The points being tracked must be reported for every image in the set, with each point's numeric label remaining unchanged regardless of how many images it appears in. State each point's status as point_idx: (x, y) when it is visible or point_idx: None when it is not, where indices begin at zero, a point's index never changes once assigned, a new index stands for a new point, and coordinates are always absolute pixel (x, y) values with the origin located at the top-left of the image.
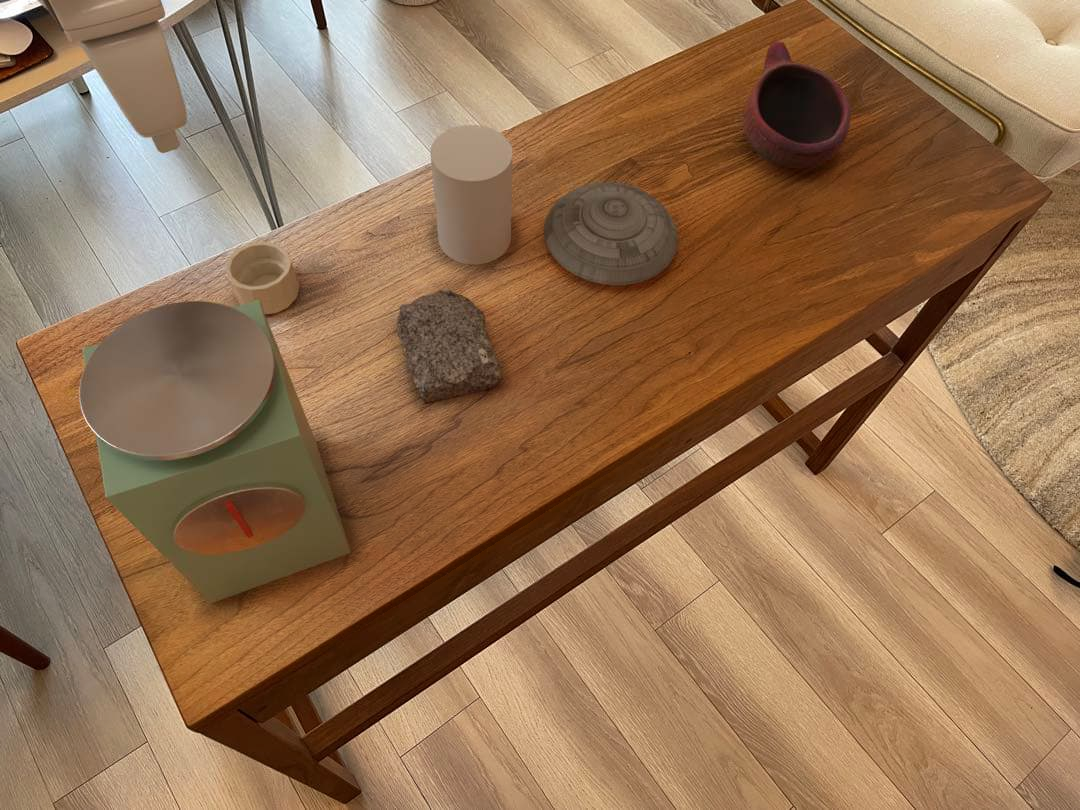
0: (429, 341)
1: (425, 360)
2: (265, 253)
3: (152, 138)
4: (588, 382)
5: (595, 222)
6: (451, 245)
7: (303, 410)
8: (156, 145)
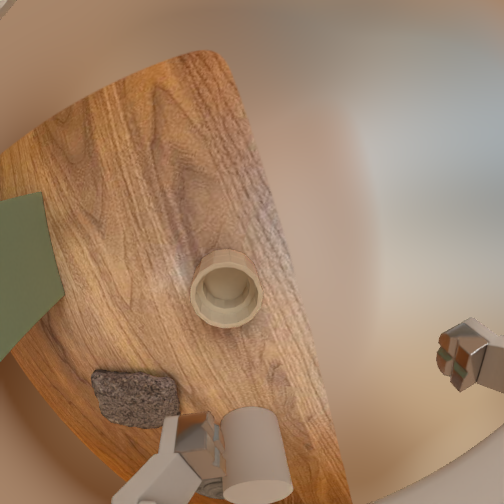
0: (124, 400)
1: (110, 392)
2: (255, 297)
3: (160, 448)
4: (116, 440)
5: (217, 486)
6: (231, 423)
7: (41, 317)
8: (163, 431)
